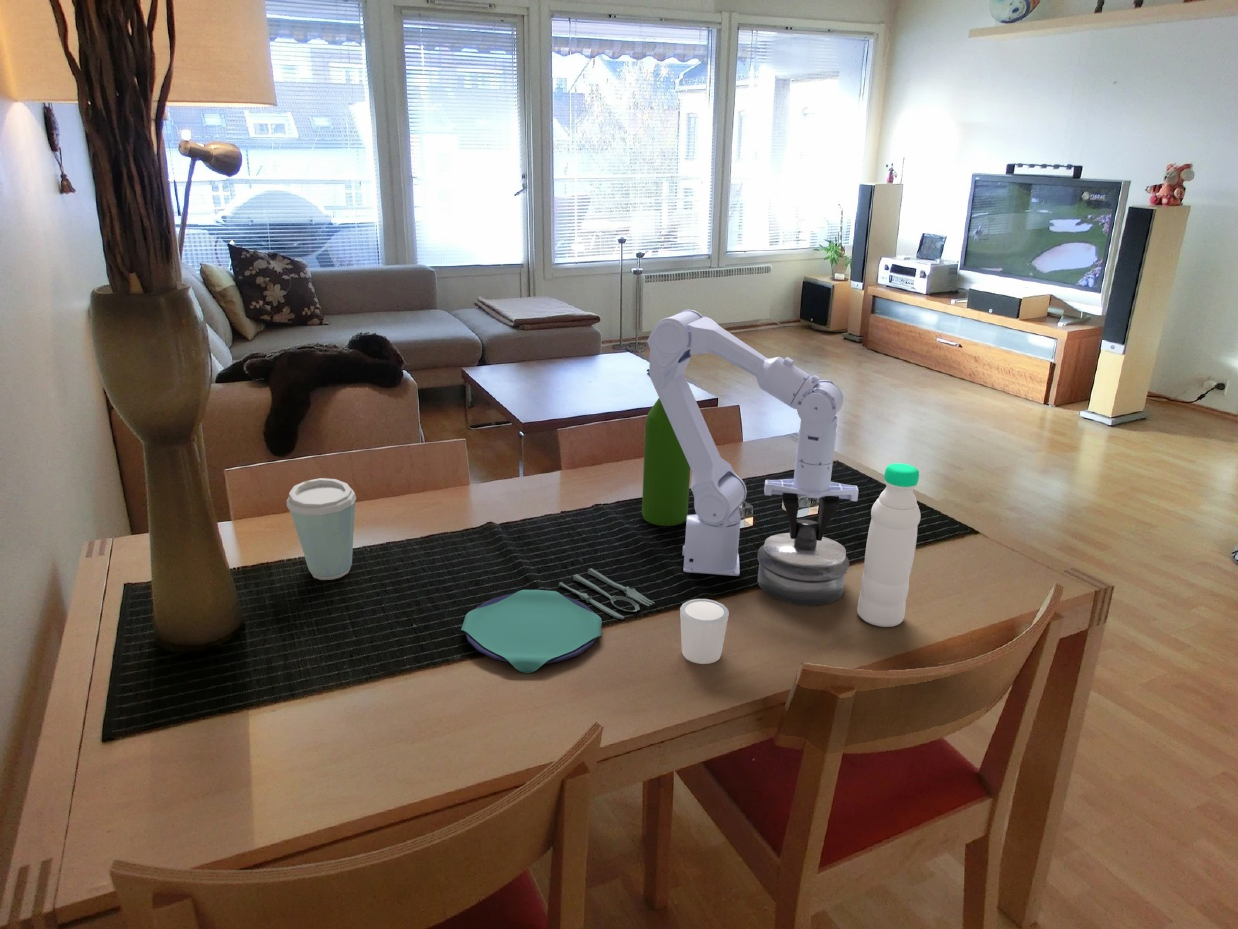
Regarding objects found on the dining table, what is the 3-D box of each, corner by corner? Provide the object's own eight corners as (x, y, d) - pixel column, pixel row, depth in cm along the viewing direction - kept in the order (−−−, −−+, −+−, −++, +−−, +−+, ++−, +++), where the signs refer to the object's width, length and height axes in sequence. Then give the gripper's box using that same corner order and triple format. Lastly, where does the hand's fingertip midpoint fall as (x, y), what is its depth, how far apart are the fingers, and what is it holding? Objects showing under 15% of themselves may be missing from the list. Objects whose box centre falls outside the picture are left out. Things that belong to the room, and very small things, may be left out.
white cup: (712, 672, 118) (715, 628, 116) (668, 656, 121) (671, 613, 119) (733, 649, 124) (737, 606, 121) (691, 635, 127) (693, 593, 124)
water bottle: (878, 633, 129) (902, 478, 120) (846, 611, 135) (867, 462, 126) (913, 622, 132) (939, 471, 123) (880, 602, 138) (903, 456, 129)
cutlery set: (437, 632, 126) (436, 618, 125) (585, 571, 146) (585, 559, 146) (522, 692, 113) (523, 677, 112) (672, 616, 134) (673, 603, 133)
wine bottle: (695, 514, 168) (705, 352, 157) (673, 530, 161) (682, 361, 150) (656, 504, 173) (663, 345, 161) (633, 518, 166) (639, 354, 154)
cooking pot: (757, 603, 136) (759, 575, 135) (753, 561, 150) (755, 535, 148) (851, 610, 135) (855, 582, 133) (839, 567, 149) (842, 541, 147)
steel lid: (765, 564, 134) (767, 533, 133) (763, 536, 147) (765, 507, 145) (849, 571, 133) (853, 540, 131) (840, 543, 145) (843, 514, 144)
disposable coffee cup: (375, 572, 142) (368, 489, 137) (315, 594, 135) (305, 507, 130) (341, 551, 149) (334, 471, 144) (282, 571, 142) (272, 487, 136)
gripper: (769, 464, 132) (761, 544, 136) (865, 470, 130) (854, 551, 135) (766, 449, 138) (759, 526, 143) (858, 455, 137) (848, 532, 142)
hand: (805, 537), depth 139 cm, fingers closed on steel lid, 3 cm apart
